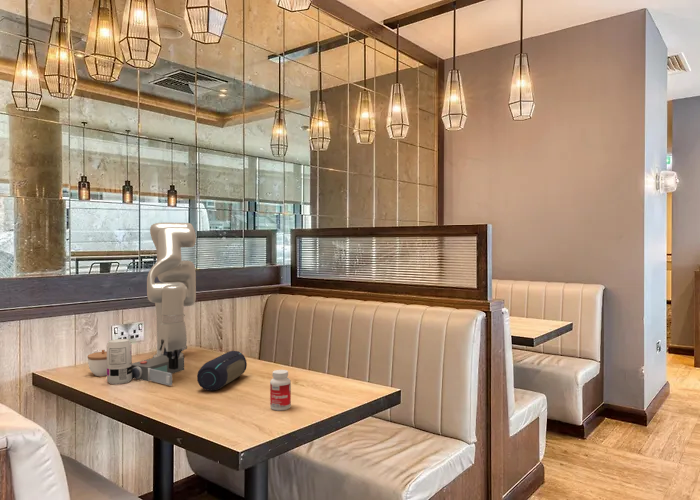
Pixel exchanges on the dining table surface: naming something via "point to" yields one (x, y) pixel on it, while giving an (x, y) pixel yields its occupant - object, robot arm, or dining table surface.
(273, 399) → the pill bottle
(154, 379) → the thin grey plank
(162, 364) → the camera body
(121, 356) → the supplement can
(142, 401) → the dining table surface
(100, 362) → the lidded jar
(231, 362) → the portable speaker
